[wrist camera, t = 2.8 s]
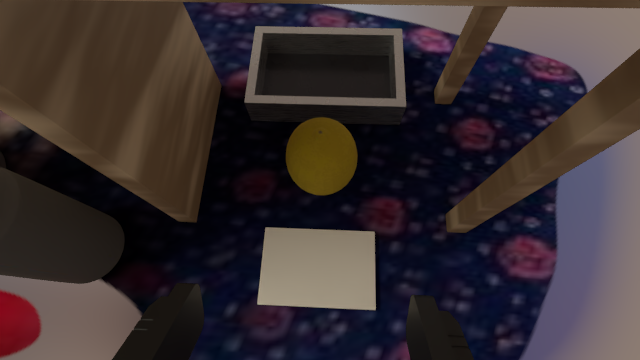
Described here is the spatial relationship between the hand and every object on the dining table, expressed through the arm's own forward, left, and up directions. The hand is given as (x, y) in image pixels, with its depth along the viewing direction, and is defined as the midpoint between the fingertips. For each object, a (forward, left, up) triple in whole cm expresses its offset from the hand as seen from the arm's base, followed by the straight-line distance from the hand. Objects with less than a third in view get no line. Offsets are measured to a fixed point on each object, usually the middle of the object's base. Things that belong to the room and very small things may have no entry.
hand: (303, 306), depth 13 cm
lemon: (0, +11, -14) cm, 18 cm away
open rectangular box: (0, +21, -14) cm, 25 cm away
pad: (0, +3, -14) cm, 15 cm away
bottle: (-19, +4, -14) cm, 24 cm away
